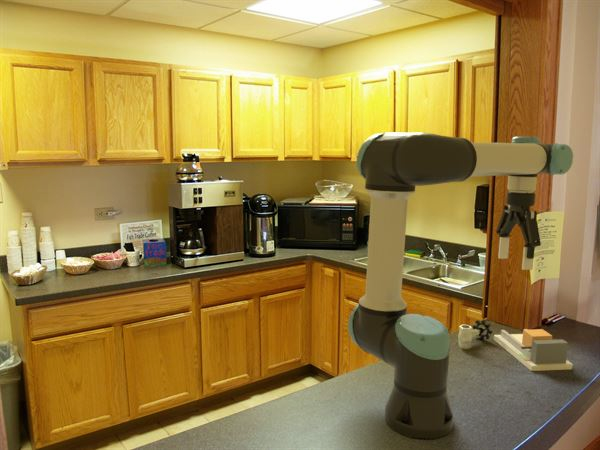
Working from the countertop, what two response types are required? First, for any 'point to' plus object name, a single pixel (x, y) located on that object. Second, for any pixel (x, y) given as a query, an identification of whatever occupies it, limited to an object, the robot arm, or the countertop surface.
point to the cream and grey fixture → (536, 352)
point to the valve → (472, 333)
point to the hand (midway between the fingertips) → (514, 263)
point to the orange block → (534, 337)
